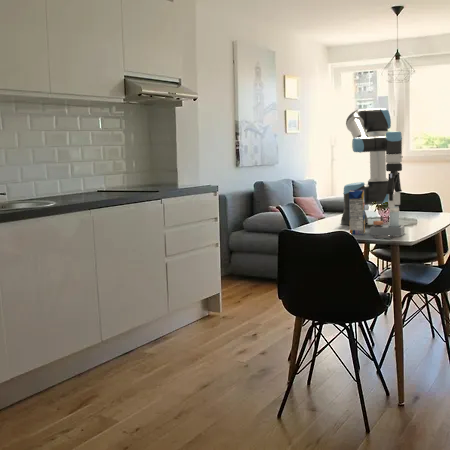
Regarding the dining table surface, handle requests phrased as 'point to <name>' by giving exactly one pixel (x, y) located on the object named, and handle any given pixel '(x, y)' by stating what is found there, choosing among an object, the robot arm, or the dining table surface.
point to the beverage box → (357, 212)
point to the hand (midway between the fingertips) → (394, 206)
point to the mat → (382, 236)
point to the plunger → (378, 223)
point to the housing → (387, 230)
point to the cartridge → (394, 216)
